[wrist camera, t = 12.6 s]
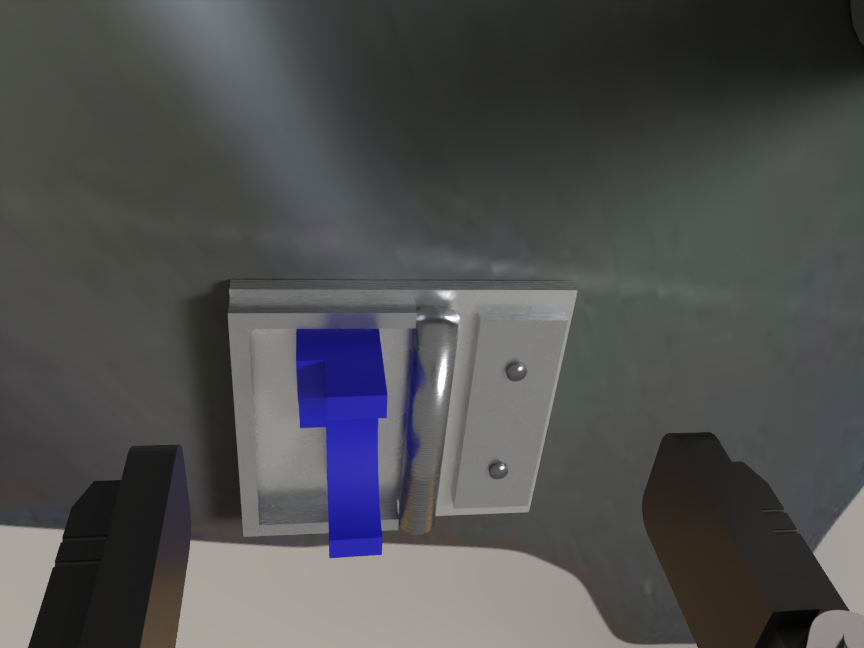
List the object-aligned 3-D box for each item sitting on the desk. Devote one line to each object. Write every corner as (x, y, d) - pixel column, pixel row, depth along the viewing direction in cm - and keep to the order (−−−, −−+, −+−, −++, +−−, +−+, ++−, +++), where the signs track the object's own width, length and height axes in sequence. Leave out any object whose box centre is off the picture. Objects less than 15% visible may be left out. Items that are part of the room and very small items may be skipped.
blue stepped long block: (296, 328, 44) (295, 398, 39) (378, 325, 45) (387, 395, 40) (303, 483, 51) (303, 559, 46) (374, 479, 51) (381, 554, 47)
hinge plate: (572, 280, 46) (590, 314, 43) (525, 501, 56) (536, 539, 53) (230, 279, 43) (225, 315, 40) (246, 512, 53) (243, 553, 50)
